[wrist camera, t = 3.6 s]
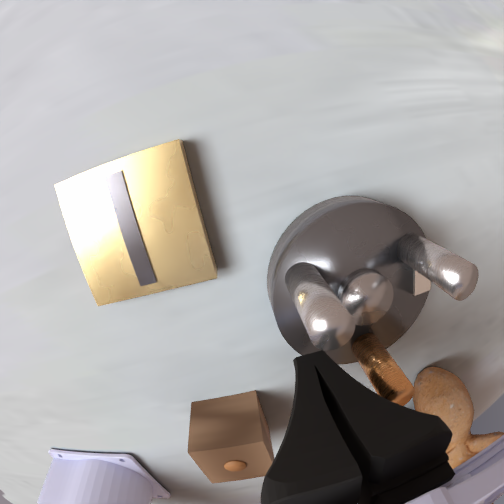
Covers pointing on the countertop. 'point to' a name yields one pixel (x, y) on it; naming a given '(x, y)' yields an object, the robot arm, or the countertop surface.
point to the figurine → (451, 412)
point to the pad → (138, 225)
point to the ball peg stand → (359, 284)
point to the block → (230, 438)
